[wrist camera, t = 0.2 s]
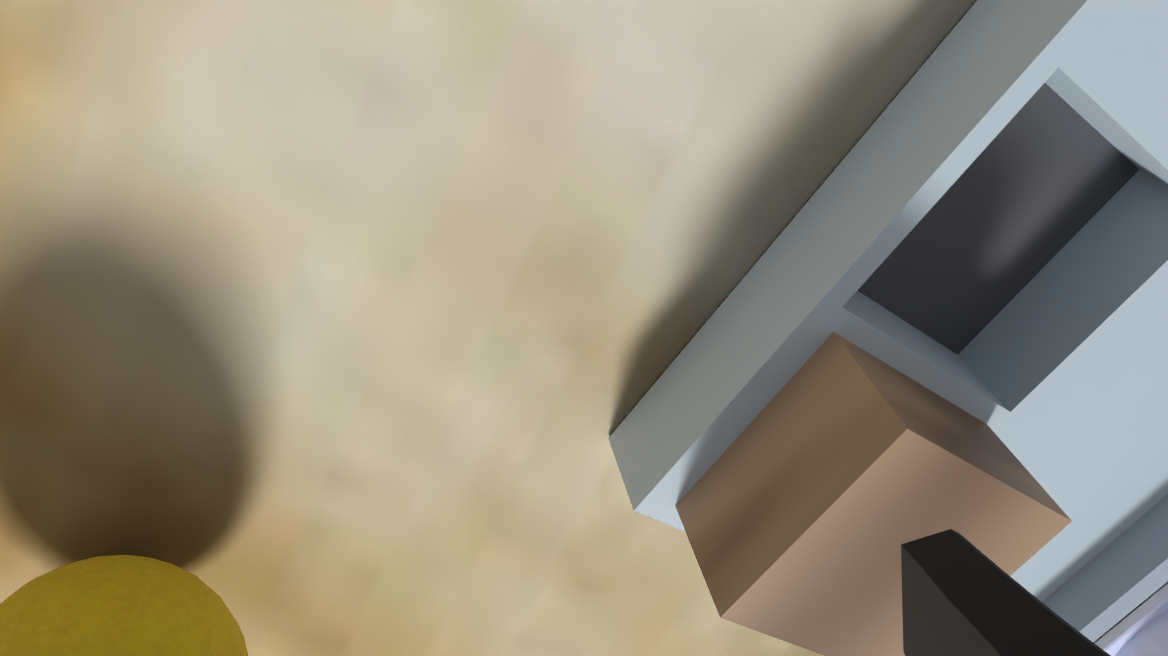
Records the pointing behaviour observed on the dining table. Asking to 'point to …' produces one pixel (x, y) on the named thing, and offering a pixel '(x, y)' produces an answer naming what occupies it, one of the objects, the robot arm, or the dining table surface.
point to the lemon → (118, 612)
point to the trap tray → (980, 286)
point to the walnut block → (853, 503)
